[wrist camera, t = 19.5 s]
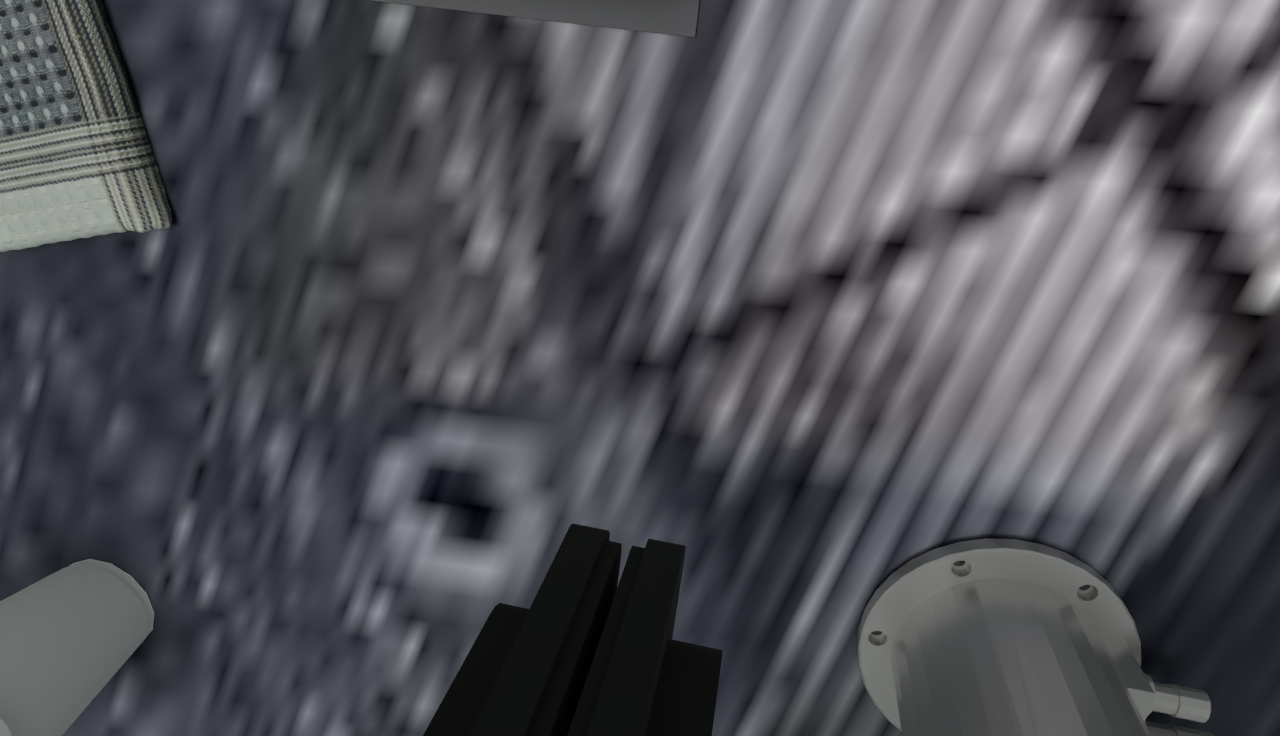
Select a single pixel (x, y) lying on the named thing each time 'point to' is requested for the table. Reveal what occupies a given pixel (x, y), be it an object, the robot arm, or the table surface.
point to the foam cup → (66, 644)
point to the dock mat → (587, 12)
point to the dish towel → (70, 130)
